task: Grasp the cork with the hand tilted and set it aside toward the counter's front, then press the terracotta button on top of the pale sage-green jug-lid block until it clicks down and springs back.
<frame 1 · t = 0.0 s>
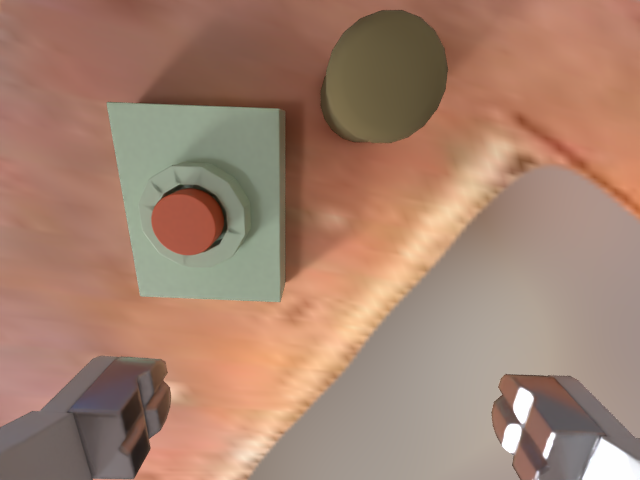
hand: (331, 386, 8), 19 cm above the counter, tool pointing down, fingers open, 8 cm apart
release button: (189, 221, 20), point 5 cm above the counter, slide at 0.1 cm
cork: (362, 98, 23), on the counter
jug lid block: (216, 202, 26), on the counter
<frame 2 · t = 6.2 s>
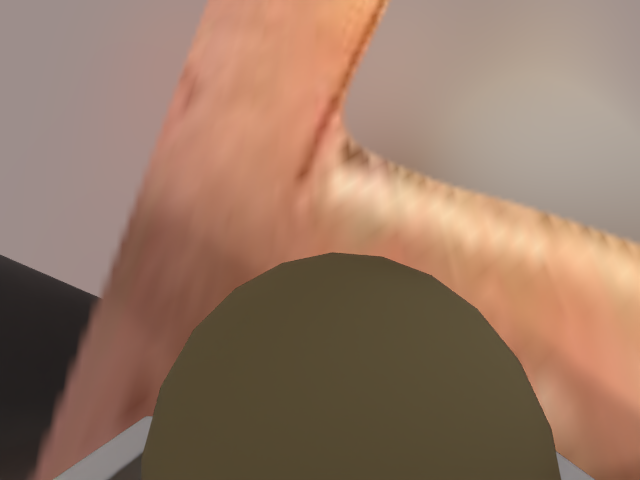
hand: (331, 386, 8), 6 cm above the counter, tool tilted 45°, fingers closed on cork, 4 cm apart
cork: (325, 405, 13), on the counter, touching gripper
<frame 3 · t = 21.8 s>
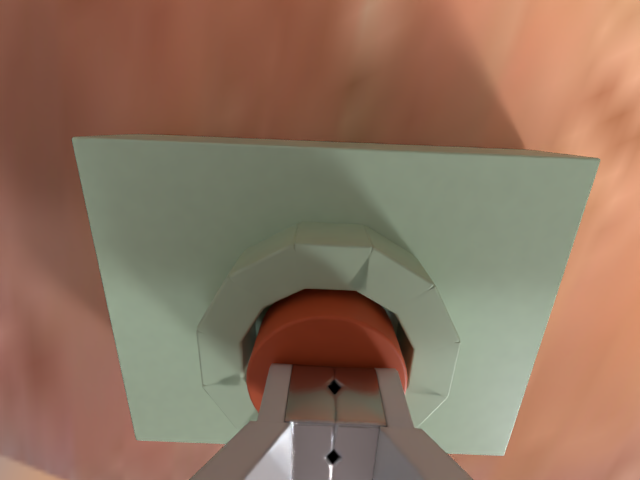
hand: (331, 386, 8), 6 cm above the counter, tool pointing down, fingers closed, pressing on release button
release button: (326, 361, 9), point 5 cm above the counter, slide at -0.5 cm, touching gripper
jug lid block: (326, 280, 13), on the counter
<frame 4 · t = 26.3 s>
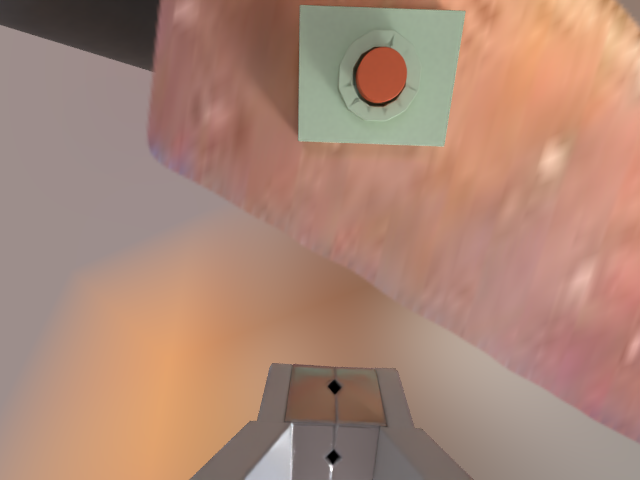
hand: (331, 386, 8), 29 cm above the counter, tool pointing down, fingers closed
release button: (380, 76, 27), point 5 cm above the counter, slide at 0.1 cm
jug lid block: (371, 84, 32), on the counter
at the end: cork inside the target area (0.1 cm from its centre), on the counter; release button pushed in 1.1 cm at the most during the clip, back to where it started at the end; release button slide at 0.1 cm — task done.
